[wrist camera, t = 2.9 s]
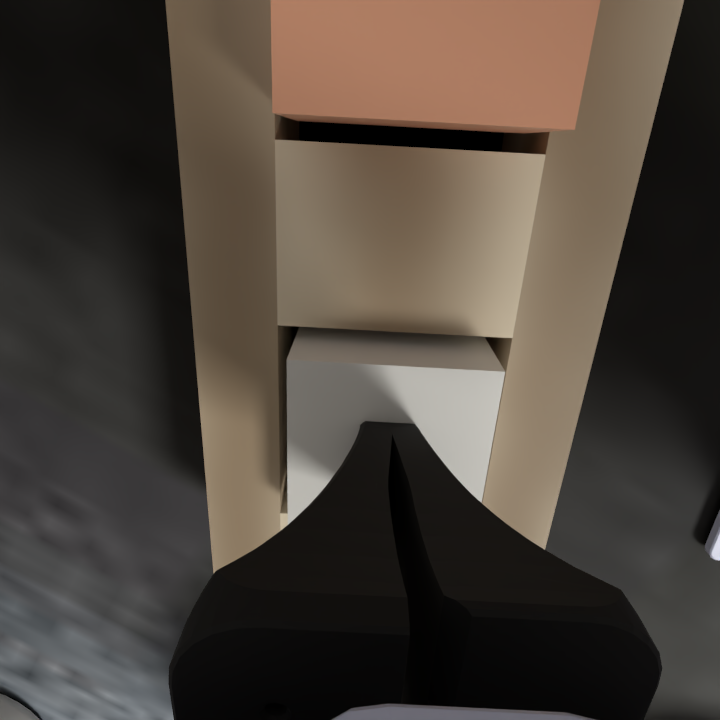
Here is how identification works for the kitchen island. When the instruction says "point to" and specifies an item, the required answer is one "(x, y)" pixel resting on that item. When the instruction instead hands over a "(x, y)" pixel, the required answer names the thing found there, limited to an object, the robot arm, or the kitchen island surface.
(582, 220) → the button panel
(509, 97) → the terracotta button
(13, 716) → the milk bottle
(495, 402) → the grey button
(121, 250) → the kitchen island surface
